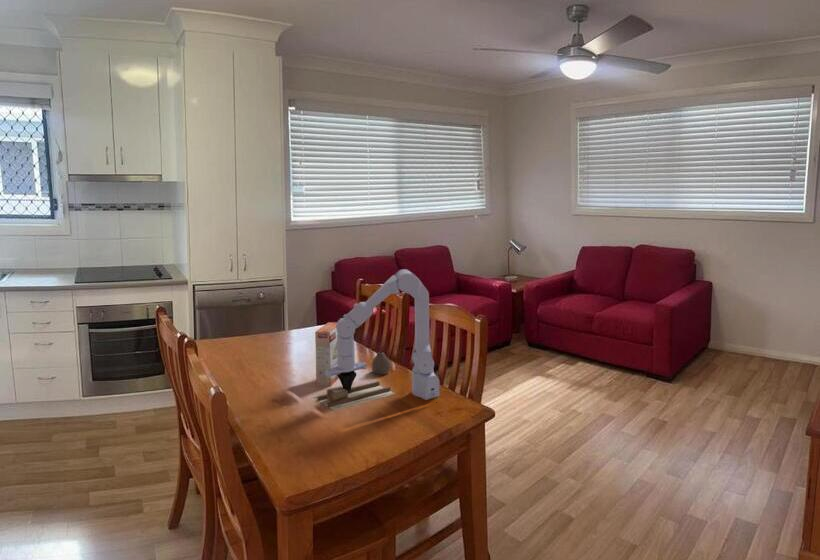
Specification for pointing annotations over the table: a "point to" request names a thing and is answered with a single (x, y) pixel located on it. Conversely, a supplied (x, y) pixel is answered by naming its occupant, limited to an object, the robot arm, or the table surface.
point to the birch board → (357, 396)
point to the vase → (380, 364)
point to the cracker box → (326, 353)
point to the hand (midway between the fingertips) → (346, 392)
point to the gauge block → (336, 393)
